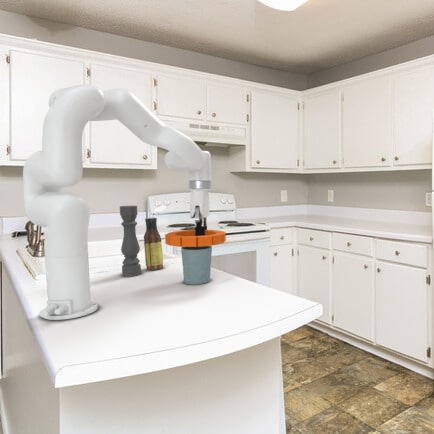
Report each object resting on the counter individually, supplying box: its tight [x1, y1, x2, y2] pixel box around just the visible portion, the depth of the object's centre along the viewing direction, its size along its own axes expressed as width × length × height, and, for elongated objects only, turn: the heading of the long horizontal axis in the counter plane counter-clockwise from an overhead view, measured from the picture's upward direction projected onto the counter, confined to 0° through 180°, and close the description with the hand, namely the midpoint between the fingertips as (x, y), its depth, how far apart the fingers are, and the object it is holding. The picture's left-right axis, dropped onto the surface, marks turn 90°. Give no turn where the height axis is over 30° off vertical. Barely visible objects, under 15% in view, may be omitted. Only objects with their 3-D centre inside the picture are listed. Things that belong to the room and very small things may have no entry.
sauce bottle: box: [143, 216, 164, 271], centre depth 156 cm, size 7×6×20 cm
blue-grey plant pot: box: [180, 245, 213, 285], centre depth 139 cm, size 10×10×12 cm
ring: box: [164, 229, 227, 248], centre depth 137 cm, size 19×19×3 cm
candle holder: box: [119, 205, 142, 278], centre depth 147 cm, size 6×6×25 cm
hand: (201, 236), depth 145 cm, fingers closed on ring, 3 cm apart
